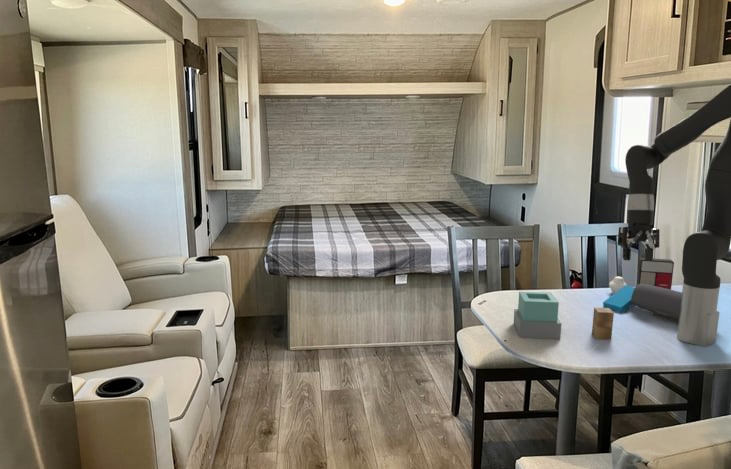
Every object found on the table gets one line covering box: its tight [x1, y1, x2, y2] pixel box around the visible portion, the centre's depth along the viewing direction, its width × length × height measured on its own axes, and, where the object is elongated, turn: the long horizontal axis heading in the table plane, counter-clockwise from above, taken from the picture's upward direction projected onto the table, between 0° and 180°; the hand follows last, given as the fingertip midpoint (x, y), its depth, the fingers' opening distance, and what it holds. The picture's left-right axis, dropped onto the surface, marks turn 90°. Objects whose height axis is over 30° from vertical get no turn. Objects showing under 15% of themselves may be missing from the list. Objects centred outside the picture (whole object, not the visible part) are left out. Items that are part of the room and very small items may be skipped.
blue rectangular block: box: [602, 285, 636, 313], centre depth 196 cm, size 7×7×18 cm
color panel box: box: [636, 257, 675, 290], centre depth 202 cm, size 11×4×15 cm, turn 73°
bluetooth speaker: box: [631, 284, 682, 324], centre depth 181 cm, size 23×9×10 cm, turn 30°
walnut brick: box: [591, 307, 615, 340], centre depth 165 cm, size 4×4×8 cm
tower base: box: [513, 291, 562, 340], centre depth 170 cm, size 12×12×11 cm
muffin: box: [609, 276, 628, 295], centre depth 209 cm, size 6×6×7 cm
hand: (637, 260), depth 171 cm, fingers open, 8 cm apart
